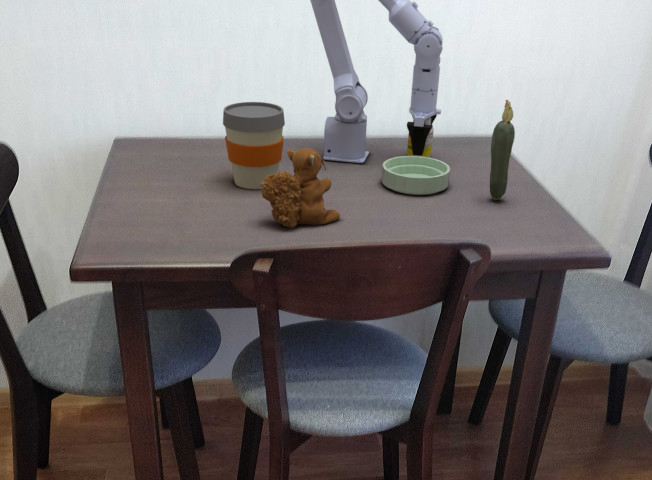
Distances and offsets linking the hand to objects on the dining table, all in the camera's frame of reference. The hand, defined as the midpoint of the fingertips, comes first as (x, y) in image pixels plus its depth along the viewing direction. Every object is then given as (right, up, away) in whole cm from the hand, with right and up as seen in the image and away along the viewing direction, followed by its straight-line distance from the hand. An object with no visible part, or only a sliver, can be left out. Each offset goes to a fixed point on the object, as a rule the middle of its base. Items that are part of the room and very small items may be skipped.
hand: (419, 150), depth 176 cm
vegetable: (+13, -16, -17) cm, 27 cm away
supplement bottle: (0, -3, +2) cm, 3 cm away
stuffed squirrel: (-26, -22, -29) cm, 45 cm away
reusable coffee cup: (-36, -11, -12) cm, 40 cm away
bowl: (-2, -11, -11) cm, 15 cm away
